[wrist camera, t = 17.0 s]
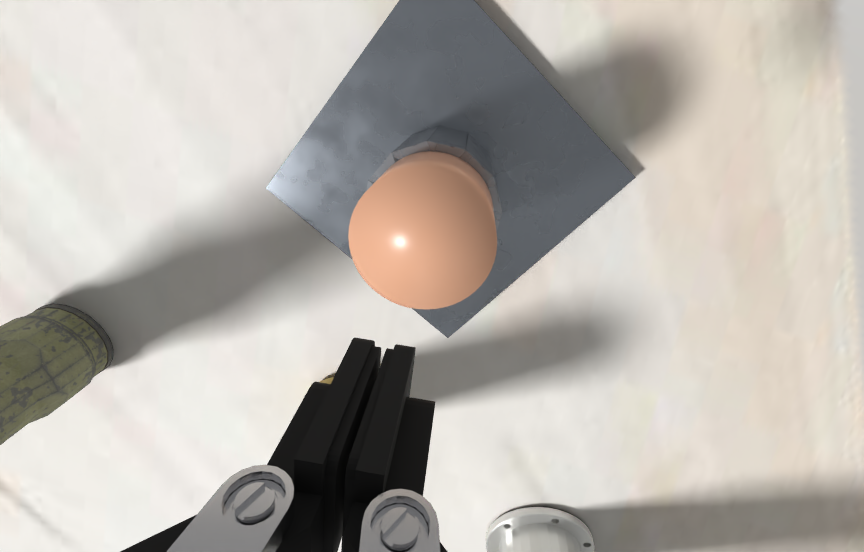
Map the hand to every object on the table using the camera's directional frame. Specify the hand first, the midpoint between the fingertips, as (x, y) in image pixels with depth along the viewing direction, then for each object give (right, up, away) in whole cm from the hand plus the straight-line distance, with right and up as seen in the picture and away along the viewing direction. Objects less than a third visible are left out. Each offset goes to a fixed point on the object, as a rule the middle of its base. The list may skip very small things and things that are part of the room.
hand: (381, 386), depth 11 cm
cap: (+2, +9, +19) cm, 21 cm away
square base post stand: (+2, +11, +21) cm, 24 cm away
